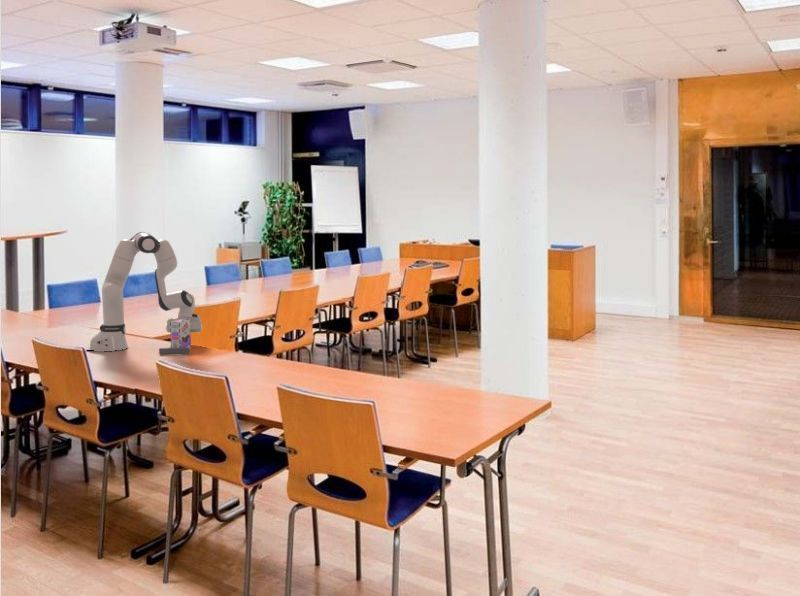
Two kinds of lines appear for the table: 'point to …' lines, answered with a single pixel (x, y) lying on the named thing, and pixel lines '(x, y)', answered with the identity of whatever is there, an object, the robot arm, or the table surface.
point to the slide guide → (175, 350)
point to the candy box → (180, 333)
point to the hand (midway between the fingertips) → (182, 337)
